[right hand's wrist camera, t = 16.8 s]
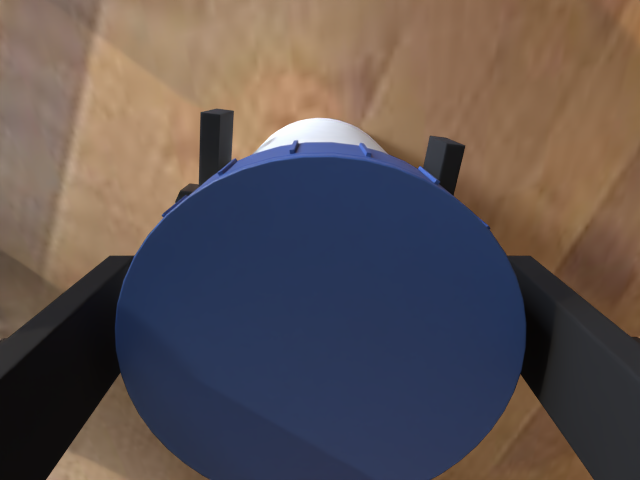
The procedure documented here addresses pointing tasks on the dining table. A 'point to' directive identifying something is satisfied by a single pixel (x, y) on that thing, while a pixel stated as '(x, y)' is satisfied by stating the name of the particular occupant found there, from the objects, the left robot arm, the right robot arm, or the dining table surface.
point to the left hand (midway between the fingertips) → (333, 126)
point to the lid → (320, 321)
